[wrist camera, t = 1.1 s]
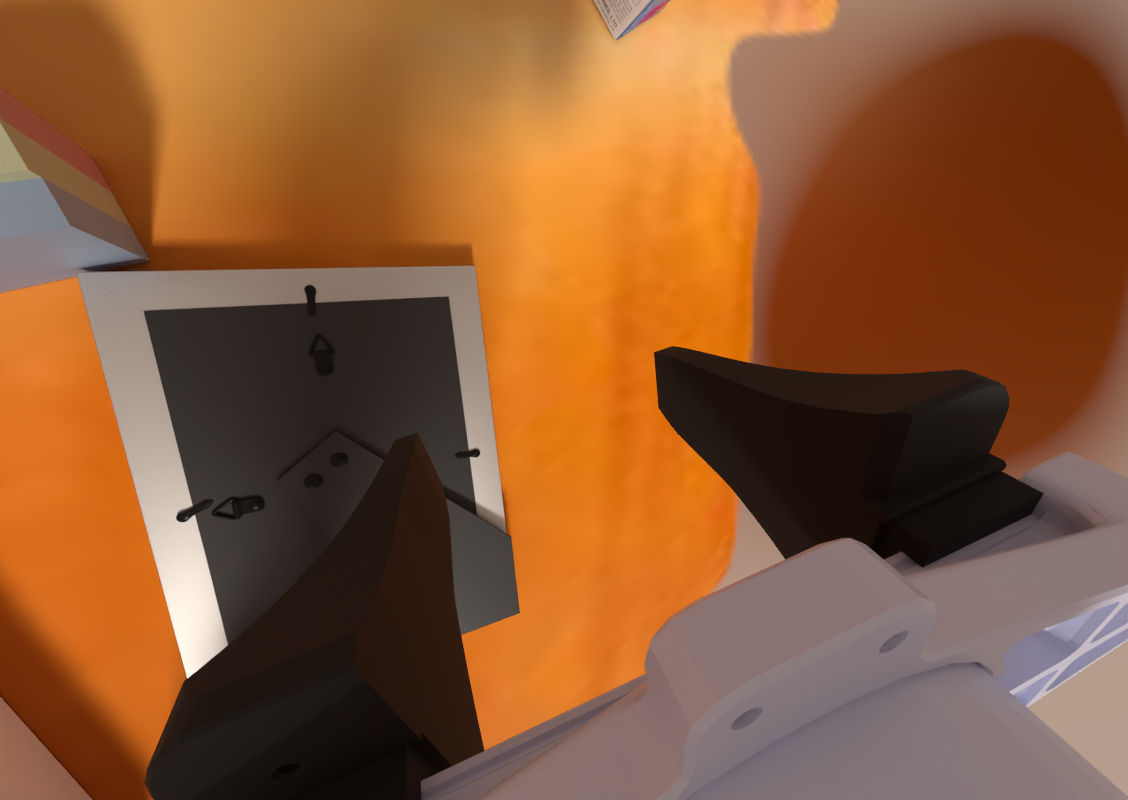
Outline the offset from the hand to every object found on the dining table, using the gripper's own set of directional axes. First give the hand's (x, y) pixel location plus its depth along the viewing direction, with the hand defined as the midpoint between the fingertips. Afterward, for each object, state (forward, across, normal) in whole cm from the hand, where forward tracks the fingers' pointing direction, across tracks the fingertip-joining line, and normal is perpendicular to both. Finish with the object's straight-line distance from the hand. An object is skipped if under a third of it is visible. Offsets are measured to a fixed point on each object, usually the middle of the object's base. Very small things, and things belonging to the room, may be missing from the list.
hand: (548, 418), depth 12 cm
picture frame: (+11, +10, +6) cm, 16 cm away
